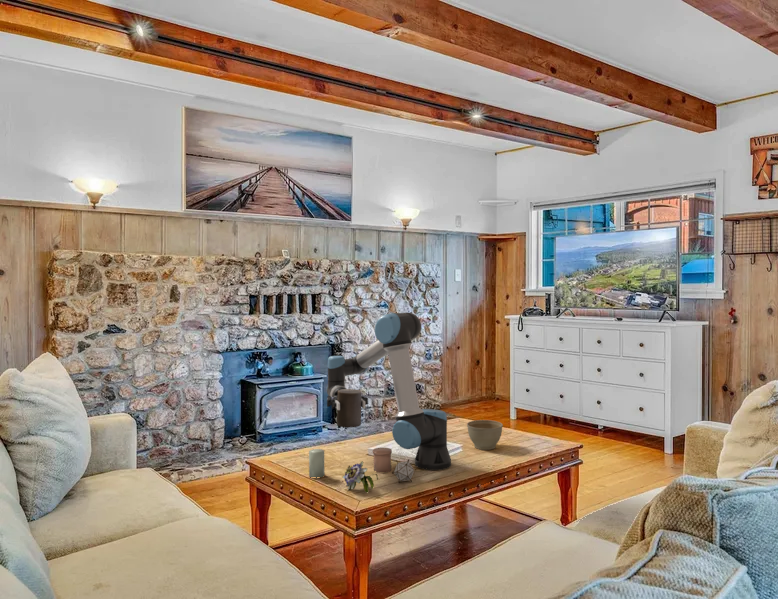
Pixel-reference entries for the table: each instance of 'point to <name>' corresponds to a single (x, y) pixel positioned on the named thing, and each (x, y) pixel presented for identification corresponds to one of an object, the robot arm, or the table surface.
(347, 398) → the pillar candle
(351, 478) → the passion flower
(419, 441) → the robot arm
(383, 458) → the peach round-topped cylinder
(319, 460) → the pale green cylinder
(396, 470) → the game die
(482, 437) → the planter bowl
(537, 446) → the table surface
